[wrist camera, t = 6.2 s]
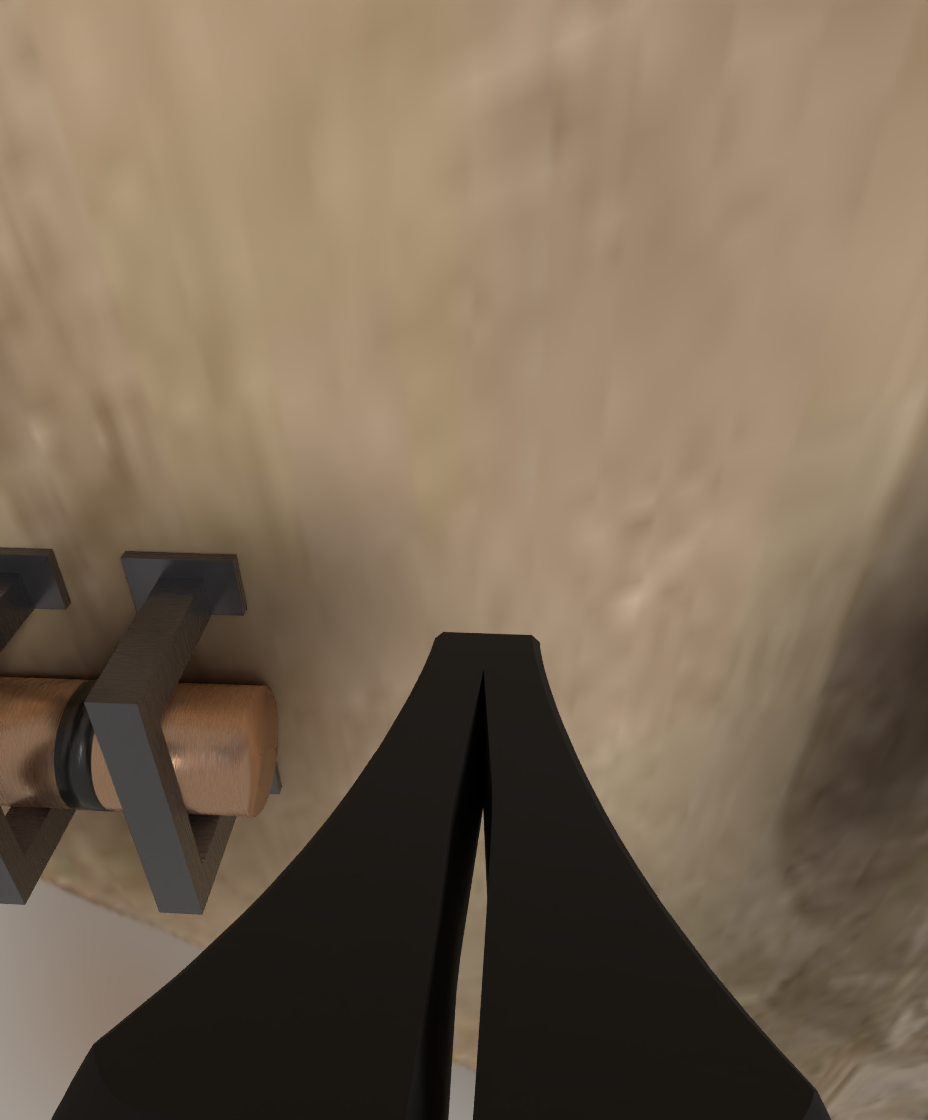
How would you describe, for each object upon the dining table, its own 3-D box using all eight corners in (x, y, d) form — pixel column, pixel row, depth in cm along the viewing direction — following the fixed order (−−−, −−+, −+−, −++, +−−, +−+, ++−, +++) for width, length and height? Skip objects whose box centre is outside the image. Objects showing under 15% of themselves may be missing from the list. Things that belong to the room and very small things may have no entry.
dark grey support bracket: (236, 555, 23) (170, 685, 19) (281, 786, 28) (238, 929, 24) (125, 551, 23) (36, 680, 19) (191, 782, 28) (132, 923, 24)
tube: (253, 667, 24) (230, 803, 22) (284, 707, 27) (266, 828, 25) (-64, 656, 24) (-109, 788, 23) (4, 697, 27) (-31, 815, 26)
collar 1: (52, 549, 23) (-52, 677, 19) (131, 780, 28) (62, 919, 24) (-57, 546, 23) (-182, 671, 19) (41, 775, 28) (-41, 913, 24)
